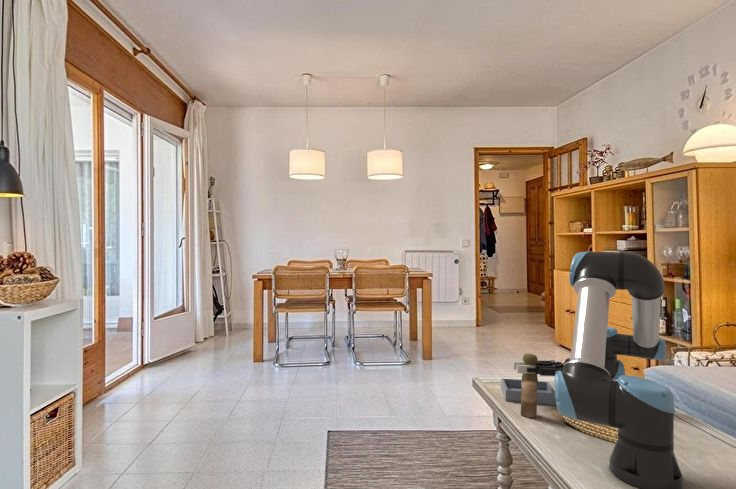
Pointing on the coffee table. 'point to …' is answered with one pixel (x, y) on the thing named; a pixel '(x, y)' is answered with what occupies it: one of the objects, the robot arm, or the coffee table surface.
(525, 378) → the cork
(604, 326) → the robot arm
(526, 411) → the walnut cylinder
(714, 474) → the coffee table surface
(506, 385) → the tote
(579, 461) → the coffee table surface
